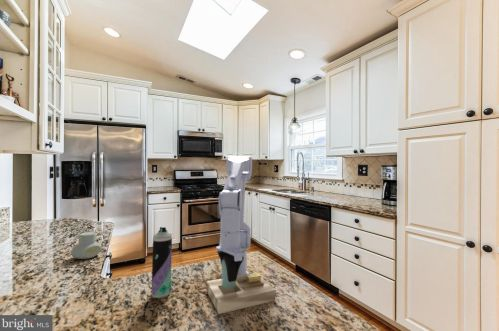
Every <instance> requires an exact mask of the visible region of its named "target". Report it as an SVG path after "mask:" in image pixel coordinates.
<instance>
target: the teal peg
mask: <svg viewBox="0 0 499 331" xmlns="http://www.w3.org/2000/svg"><path fill="white" fill-rule="evenodd" d="M221 279H222V286H223V287H224V288H233V287H235V286H236V281H233V282H229V281H228V277H227V268H226V264H225V261H224V259H223V260H222V265H221Z"/></svg>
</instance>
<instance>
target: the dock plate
mask: <svg viewBox="0 0 499 331" xmlns="http://www.w3.org/2000/svg"><path fill="white" fill-rule="evenodd" d="M252 273H253V272H249V274H252ZM254 273H257V272H256V271H255V272H254ZM246 275H247V274H244V275H238V276H237V279H236V286H235V287H233V288H224V287H223V286H222V278H218V279H212V280H208V281H206V293H207V295H208V296H209V299H210V300H211V302H212V304H213V306H214V309H215V310H216V312H217V314H218V315H221V314H225V313H229V312H233V311H237V310H242V309H245V308H246V309H247V308H249V307H254V306H258V305H262V304H266V303H271V302H275V301H276V289H275V288H274V287H273V286H272V285H270V283H268V282H267V281H266V280H265V279H264V278H263V277H262V276H261V282H258V283H253V284H248V285H247V284H246Z"/></svg>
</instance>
